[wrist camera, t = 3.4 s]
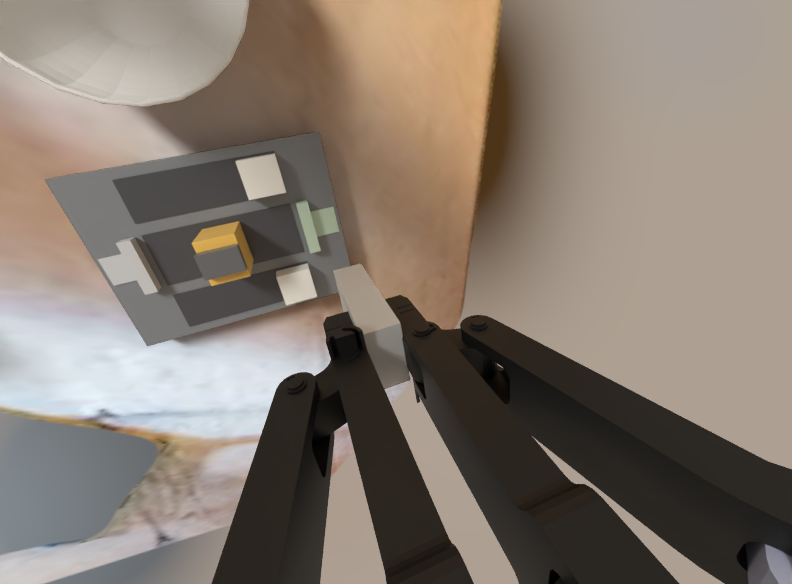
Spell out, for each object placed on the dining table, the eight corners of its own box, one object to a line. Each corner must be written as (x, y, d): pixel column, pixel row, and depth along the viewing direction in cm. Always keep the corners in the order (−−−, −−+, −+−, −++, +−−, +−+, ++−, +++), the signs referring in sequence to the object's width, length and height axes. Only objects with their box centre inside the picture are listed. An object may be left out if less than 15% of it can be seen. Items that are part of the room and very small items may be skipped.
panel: (155, 332, 33) (141, 356, 29) (63, 175, 26) (29, 182, 23) (350, 279, 37) (359, 294, 34) (316, 132, 30) (321, 131, 27)
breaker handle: (218, 267, 30) (209, 290, 26) (201, 229, 28) (188, 246, 24) (253, 259, 30) (250, 279, 26) (239, 221, 29) (233, 236, 25)
